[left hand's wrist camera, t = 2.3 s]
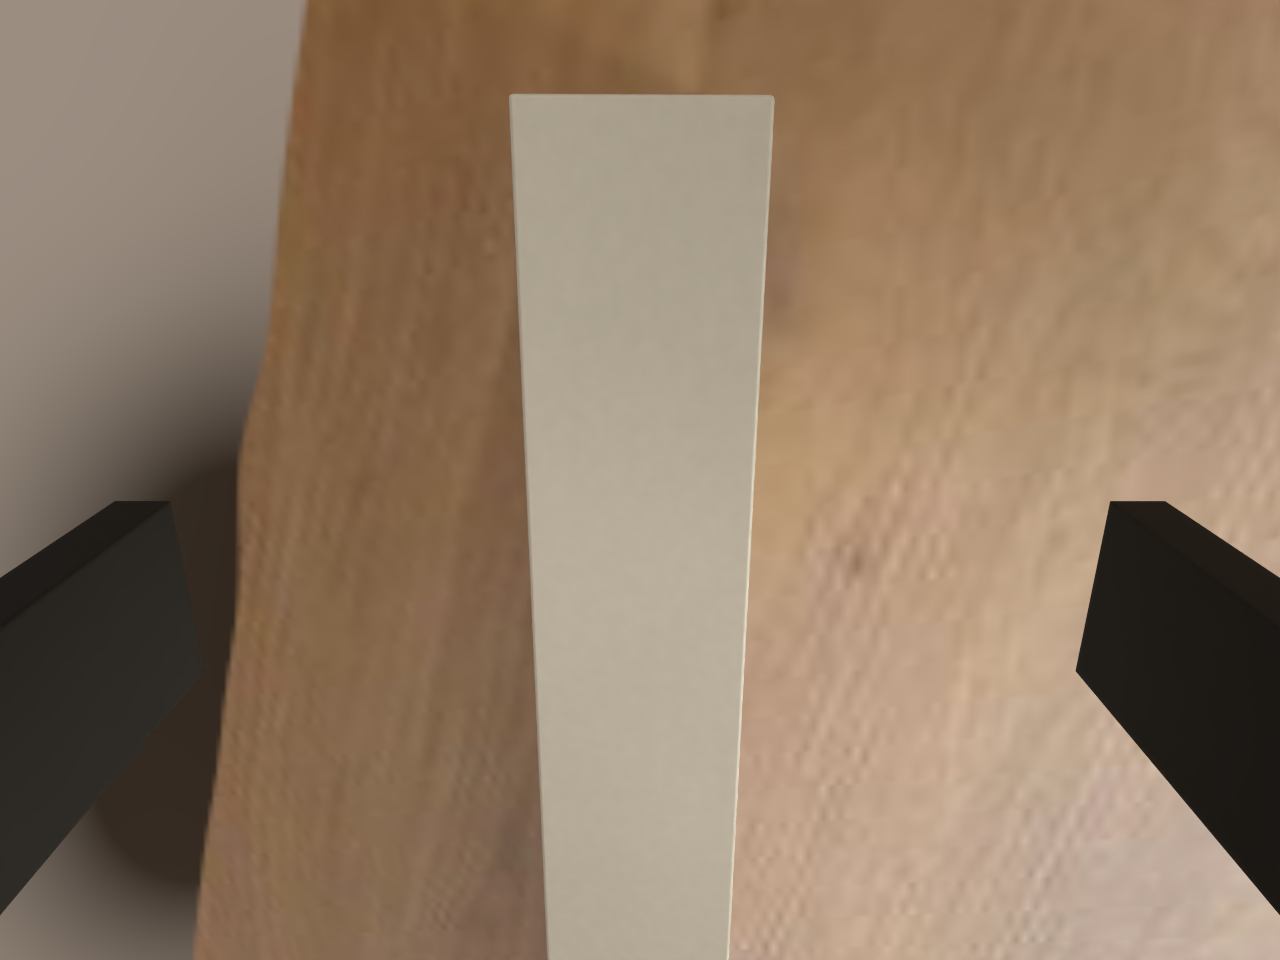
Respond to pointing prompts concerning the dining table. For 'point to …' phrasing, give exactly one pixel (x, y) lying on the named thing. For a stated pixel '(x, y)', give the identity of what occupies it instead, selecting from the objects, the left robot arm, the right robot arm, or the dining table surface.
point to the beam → (639, 499)
